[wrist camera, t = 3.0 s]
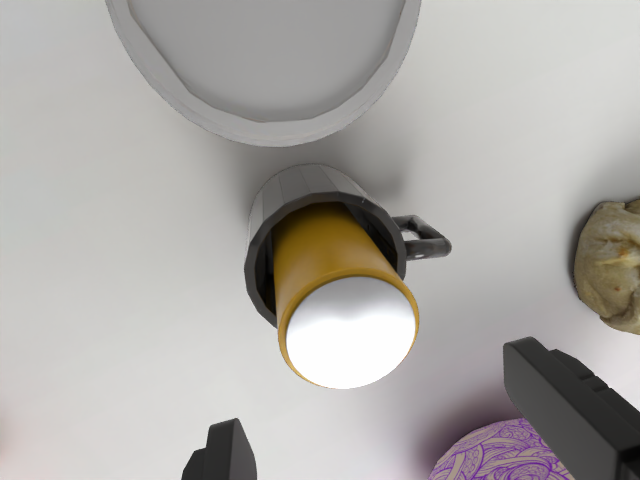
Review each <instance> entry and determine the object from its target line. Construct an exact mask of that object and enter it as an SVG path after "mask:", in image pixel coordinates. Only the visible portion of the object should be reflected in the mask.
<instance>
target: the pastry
mask: <svg viewBox="0 0 640 480" xmlns="http://www.w3.org/2000/svg"><path fill="white" fill-rule="evenodd" d="M573 274H574V276H573V277H574V279H573V282H574V284H576V285H575V286H574V287H577V288H576V289H577V290H578V291H577V292H578V297H579V299H580V300H582V302H584V303H585V304H586V305H587V306H589V307H590V308H591V309H592V310H593V311H595V312H596V313H598V314H599V315H600V319H601V320H602V321H603V322H604V323H605V324H606V325H608V326H610V327H611V328H613V329H616V330H619V331H623V332H629V333H633V334H637V335H640V199H638V200H635V201H633V202H631V203H628V204H625V203H624V202H622V203H619V202H602V203H601V204H599V205H598V206H597V207H596V208H595V209H594V211H593V213H592V214H591V216H590V218H589V219H588V221H587V223H586V225H585V226H584V228H583V230H582V231H581V234H580V237H579V242H578V247H577V252H576V258H575V264H574V272H573Z"/></svg>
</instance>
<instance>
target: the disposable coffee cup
mask: <svg viewBox="0 0 640 480" xmlns="http://www.w3.org/2000/svg"><path fill="white" fill-rule="evenodd" d="M105 2H106V5H107V8H108V11H109V13H110V16H111V19H112V22H113V25H114V28H115V30H116V32H117V34H118V36H119V38H120V40H121V42H122V43H123V45H124V47H125V49H126V51H127V53H128V54H129V56H130V58H131V60H132V61H133V63H134V64H135V66H136V67H137V68H138V70H139V71H140V72H141V74H142V75H143V76H144V78H145V79H146V81H147V82H148V83H149V85H150V86H151V87H152V88H153V89H154V90H155V91H156V92H157V93H158V94H159V95H160V96H161V97H162V98H163V99H164V100H165V101H166V102H167V103H168V104H169V105H170V106H171V107H173V108H174V109H175V110H176V111H178V112H179V113H180V114H182V115H183V116H184V117H185V118H187V119H188V120H190V121H192V122H193V123H195V124H197V125H198V126H200V127H202V128H204V129H205V130H207V131H209V132H212V133H214V134H216V135H219V136H221V137H223V138H226V139H228V140H231V141H235V142H240V143H244V144H249V145H254V146H261V147H289V146H294V145H299V144H304V143H309V142H313V141H317V140H319V139H322V138H324V137H326V136H328V135H331V134H333V133H335V132H338V131H340V130H341V129H343V128H344V127H346V126H347V125H349V124H350V123H352V122H353V121H355V120H356V119H357V118H359V117H360V116H361V115H362V114H364V113H365V112H366V111H367V110H368V109H369V108H370V107H371V106H372V105H373V104H374V103H375V102H376V101H377V100H378V99H379V98H380V97H381V96H382V94H383V93H384V91H385V90H386V88H387V87H388V85H389V84H390V83H391V81H392V80H393V78H394V77H395V75H396V74H397V72H398V70H399V68H400V66H401V64H402V62H403V60H404V58H405V56H406V54H407V52H408V49H409V46H410V43H411V40H412V38H413V35H414V32H415V29H416V26H417V21H418V16H419V11H420V5H421V0H105Z"/></svg>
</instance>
